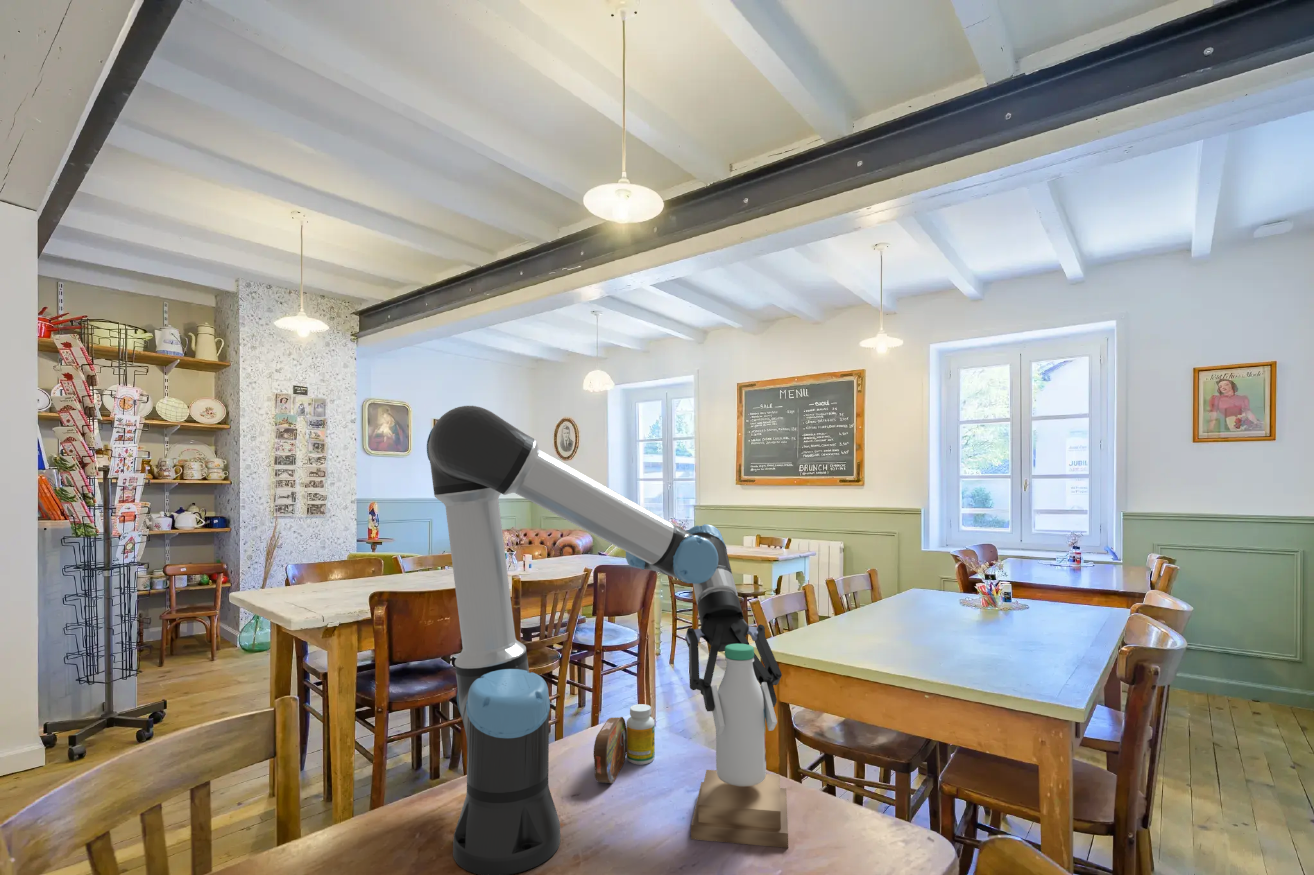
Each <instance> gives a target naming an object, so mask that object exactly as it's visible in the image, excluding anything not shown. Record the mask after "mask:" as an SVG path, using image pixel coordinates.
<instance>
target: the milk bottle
mask: <svg viewBox="0 0 1314 875" xmlns="http://www.w3.org/2000/svg"><path fill="white" fill-rule="evenodd" d="M754 653H755V648H754V647H753V646H752V645H750V644H749V645H747V644H730V645H727V646H726V647H725V651H724V656H725V657H724V661H725V662H726V663H725V664H726V666H725V671H724V674H723V677H722V678H721V679H722V680H721V682H720V684H719V687H718V688H717V690H718V695H719V700H720V705H721V710H722V715H723V720H724V724H725V727H724V730H723V732H722V734H720V735H717V733H716V732H715V768H716V770H717V775H718V777H719V779H720V780H722V781H723V782H725V783H727V784H730V785H734V786H753V785H757V784H759V783H761V782H762V781H763V780H764V779H765V776H766V774H767V757H766V756H767V751H766V750H767V748H766V747H767V746H766V744H767V743H766V719H765V707H764V698H763V693H762V690H761V687H760V686H761V685H760V683H759V682H758V680H757V678H756V676H755V673H754V669H753V662H754Z"/></svg>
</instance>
